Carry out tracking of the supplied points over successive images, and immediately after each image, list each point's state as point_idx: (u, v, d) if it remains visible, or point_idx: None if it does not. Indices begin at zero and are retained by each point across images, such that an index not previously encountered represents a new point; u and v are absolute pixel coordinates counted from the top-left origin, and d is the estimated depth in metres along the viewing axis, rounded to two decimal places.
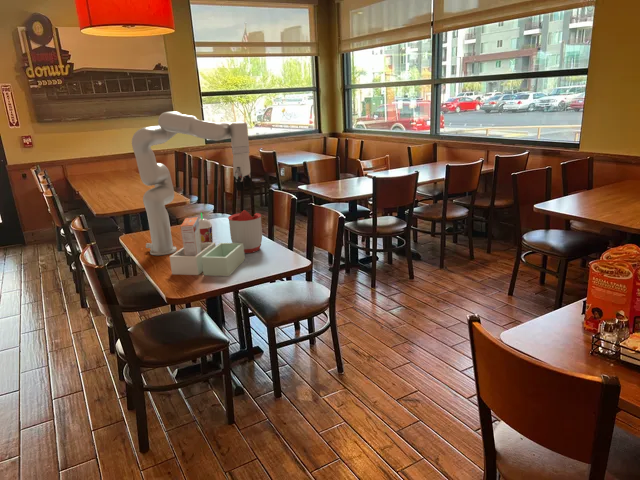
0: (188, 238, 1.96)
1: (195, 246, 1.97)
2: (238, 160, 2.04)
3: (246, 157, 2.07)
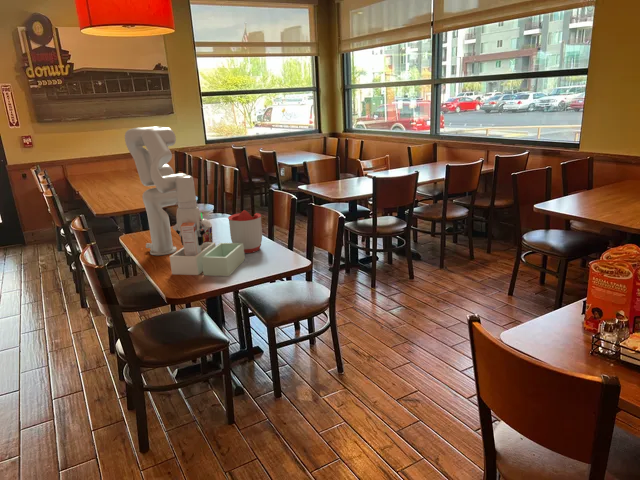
0: (188, 238, 1.96)
1: (195, 246, 1.97)
2: (199, 213, 1.99)
3: None
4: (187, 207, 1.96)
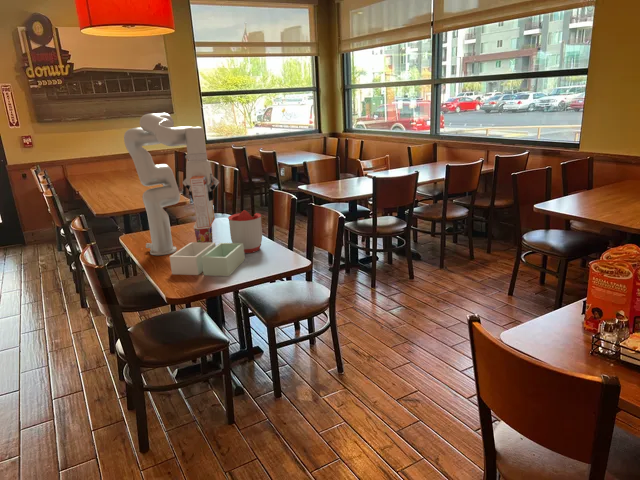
0: (198, 191, 1.89)
1: (205, 200, 1.90)
2: (209, 166, 1.92)
3: None
4: (197, 159, 1.88)
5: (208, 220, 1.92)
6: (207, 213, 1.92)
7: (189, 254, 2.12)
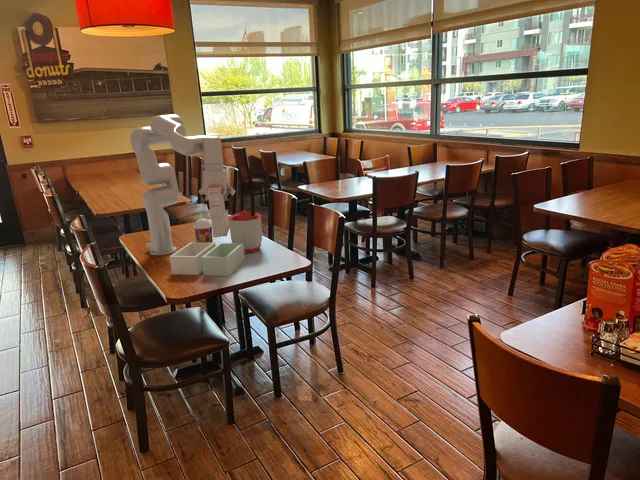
0: (215, 201, 1.89)
1: (222, 210, 1.90)
2: (226, 176, 1.92)
3: None
4: (214, 169, 1.88)
5: (224, 229, 1.92)
6: (224, 222, 1.92)
7: (189, 254, 2.12)
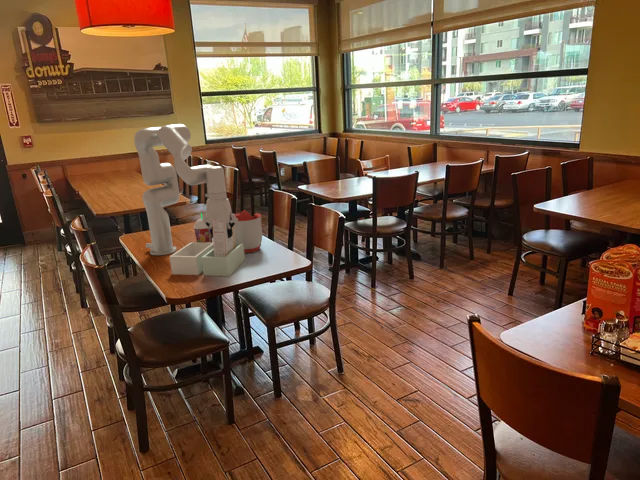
0: (218, 227, 1.95)
1: (224, 236, 1.95)
2: (229, 204, 1.95)
3: None
4: (217, 198, 1.92)
5: (225, 256, 1.96)
6: (225, 249, 1.96)
7: (189, 254, 2.12)
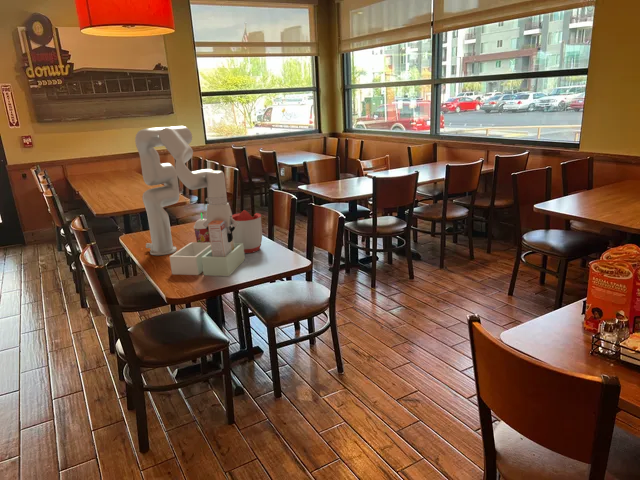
0: (215, 237, 1.92)
1: (222, 245, 1.93)
2: (229, 209, 1.96)
3: None
4: (218, 203, 1.92)
5: None
6: None
7: (189, 254, 2.12)
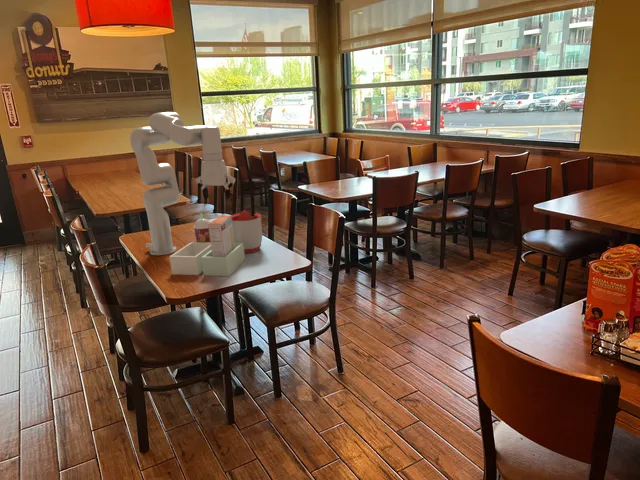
0: (216, 237, 1.92)
1: (222, 245, 1.93)
2: (225, 166, 1.91)
3: None
4: (213, 159, 1.87)
5: None
6: None
7: (189, 254, 2.12)
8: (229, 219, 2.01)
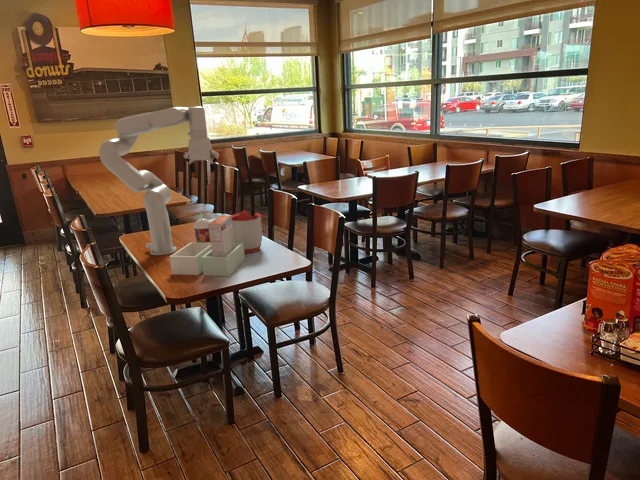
0: (216, 237, 1.92)
1: (222, 245, 1.93)
2: (209, 142, 2.13)
3: None
4: (199, 136, 2.09)
5: None
6: None
7: (189, 254, 2.12)
8: (229, 219, 2.01)
